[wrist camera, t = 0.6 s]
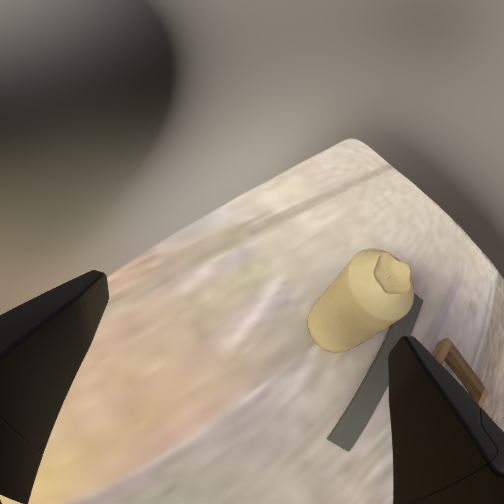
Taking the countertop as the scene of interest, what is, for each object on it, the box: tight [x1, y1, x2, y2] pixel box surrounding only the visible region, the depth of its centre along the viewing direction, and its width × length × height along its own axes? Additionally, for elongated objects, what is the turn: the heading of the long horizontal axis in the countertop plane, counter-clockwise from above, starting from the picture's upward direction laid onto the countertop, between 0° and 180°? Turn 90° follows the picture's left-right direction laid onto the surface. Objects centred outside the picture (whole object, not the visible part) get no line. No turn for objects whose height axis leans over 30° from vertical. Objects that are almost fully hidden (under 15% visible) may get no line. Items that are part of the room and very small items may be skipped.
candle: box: [308, 249, 414, 352], centre depth 21 cm, size 6×6×10 cm
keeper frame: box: [432, 338, 488, 408], centre depth 21 cm, size 10×10×2 cm
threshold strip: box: [327, 294, 423, 451], centre depth 23 cm, size 18×2×1 cm, turn 142°
